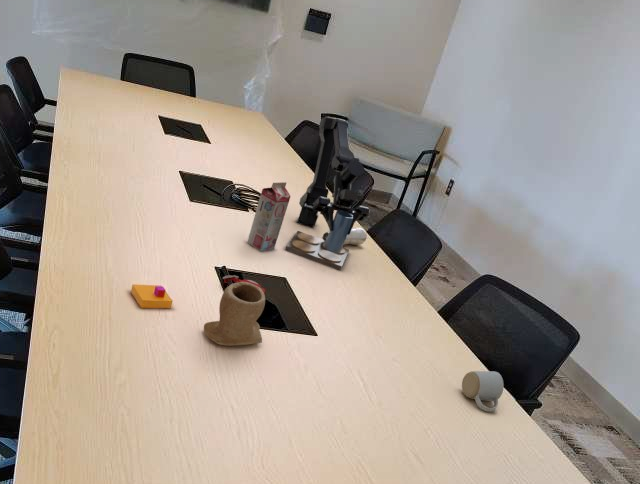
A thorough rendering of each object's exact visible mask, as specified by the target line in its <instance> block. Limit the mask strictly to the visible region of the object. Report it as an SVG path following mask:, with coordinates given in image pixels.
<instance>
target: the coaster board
mask: <svg viewBox="0 0 640 484" xmlns="http://www.w3.org/2000/svg"><path fill="white" fill-rule="evenodd" d="M324 245H325V241H324V240H323V238H319V237H316V236H315V235H312V234H309V233H305V232H303V231H300V230H297V231H296V232H295V234H294V235H293V236H292V238H291V239H290V240H289V242H288V243H287V244H286V246H285V248H284V249H285V251H287V252H290V253H292V254H295V255H298V256H300V257H303V258H306V259H309V260H312V261H314V262H317V263H319V264H322V265H325V266H327V267H329V268H333V269H336V270H338V271H341V270H342V267H343V265H344V264H345V261H346V259H347V257H348V255H349V253H350V249H349V248H346V247H344V246H343V247H342V250H341V252H340V253H336V252H332V251H329V250H327V249H326V248H325V247H324Z"/></svg>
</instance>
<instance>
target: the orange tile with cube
mask: <svg viewBox="0 0 640 484" xmlns="http://www.w3.org/2000/svg"><path fill="white" fill-rule="evenodd" d="M130 293H131V295H132V296H133V298H134V299H135V301H136V302H137V304H138V305H139V307H140V308H142V309H144V308H145V309H171V308H172V305H173V299H172V298H171V297H170V295H169V293H168V292H167V291H166V289H165V287H164V286H162V285H157V284H132V285H131V290H130Z"/></svg>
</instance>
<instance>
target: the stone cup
mask: <svg viewBox="0 0 640 484" xmlns="http://www.w3.org/2000/svg"><path fill="white" fill-rule="evenodd" d="M265 305H266V295H265V293H264V292H263V291H262V290H261V289H260V288H259V287H258V286H256V285H254V284H251V283H248V282H238V283H236V282H234V283H231V284H230V285H229V286H227V287H225V289H224V291H223V293H222V296H221V298H220V301H219V312H218V313H219V320H215V321H208V322H206V323H204V324H203V331H204V333H205V335H206V337H208V339H209V340H210V341H212V342H214V343H215V344H217V345H220V346H245V345H255V344H262V343H263V337H262V333H261V326H260V324H259V323H258V322H257V320H258V319H259V318H260V317H261V315H262V314H263V312H264V309H265Z"/></svg>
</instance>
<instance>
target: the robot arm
mask: <svg viewBox="0 0 640 484" xmlns="http://www.w3.org/2000/svg"><path fill="white" fill-rule="evenodd" d="M318 128H319V131H318V135H319V139H320V142H321V143H320V147H319V152H318V157H317V160H316V161H317V162H316V166H315V171H314V175H313V178H312V182H311V183H310V185H309V186H307V187H306V191H305V192H304V193H303V194H302V196H301V197H300V199H299V202H298V203H299V206H300V207H301V209H300V212H299V215H298V217H297V220H296V223H297V224H300V225H302V226H305V227H308V228H311V229H312V228H313V227H314V226H316V225H317V222H318V219H319V215H322V217H323V218H324V220H325V222H326V224H327V227H328V229H329V231H332V230H333V220H334V214H335V211H336V212H337V211H344V212H347V213H349V214H351V215H353V217H354V218H353V221H352V223H351V226H350V229H349V231H348V235H349V234H350V232H351V230H352V229H354V225H355V223H356V222H357V221H358V222H363V221H364V220H365V219H366V218H368V217H370V215H371V214H370V213H371V210H370V208H369V207H367V206H363V205H358V206H356V208H354V207H351V206H354V203H357V202H361V201H363V198H364V190H360V189H356V190H353V189H352V184H354V183H355V182H356V181H357V180H358V179H359V178H361V177H362V176H363V175H364V172H365V168H364V165H363V164H362V162H360V158H359V157H355V154H354V152H352V150H351V148H350V141H349V132H348V128H349V122H348V121H347V120H345V119H341V118H335V117H331V116H327V115H325V116H324V117H322V118H321V119H320V121H319V126H318ZM333 150H334V151H333ZM333 152H334V156H333V157H332V155H333ZM331 159H332V160H331ZM330 165H331V168H332V170H333V171H335V172H337V173H336V174H335V175H334V178H333V179H332V183H333V193H332V194H331V198H333V199H332V201H331V198H329V197H328V195H329V188H327V185H326V182H327V177H328V173H329V169H330Z"/></svg>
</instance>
